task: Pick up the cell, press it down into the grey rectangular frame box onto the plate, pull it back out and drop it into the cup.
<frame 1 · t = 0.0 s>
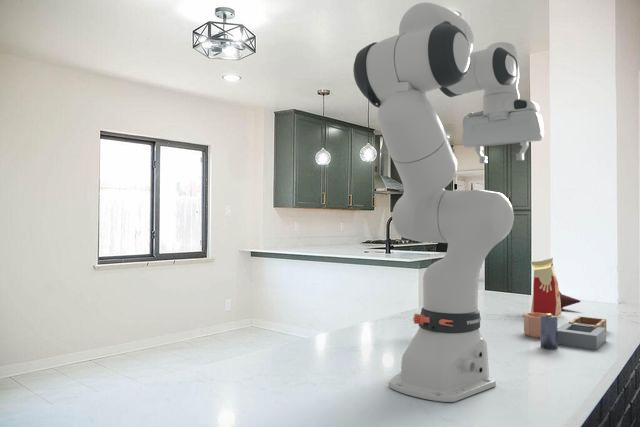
hand: (501, 161, 127), 48 cm above the counter, fingers open, 8 cm apart
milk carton: (544, 316, 169), on the counter
grey rectangular frame box: (580, 342, 132), on the counter
trough: (587, 332, 143), on the counter
icecream: (558, 310, 181), on the counter
cup: (539, 334, 141), on the counter
cell: (549, 347, 127), on the counter
plate: (580, 338, 132), point 1 cm above the counter, slide at 0.7 cm
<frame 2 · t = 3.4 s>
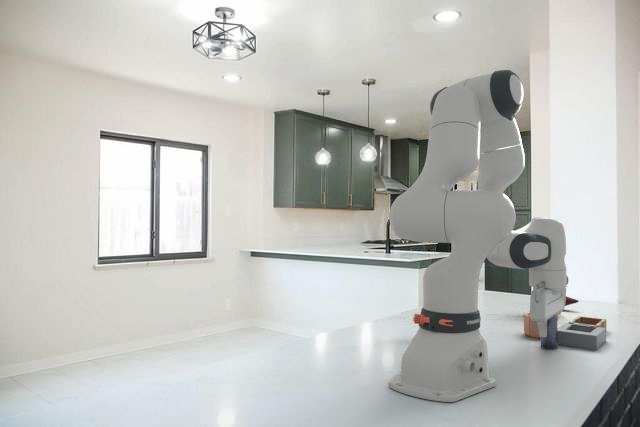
hand: (548, 333, 128), 3 cm above the counter, fingers open, 7 cm apart
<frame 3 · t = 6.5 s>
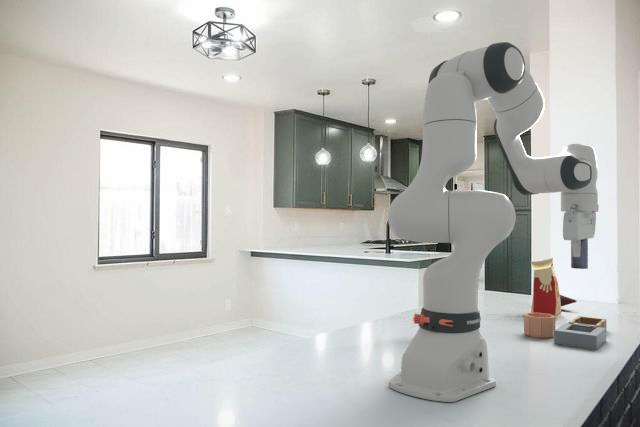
hand: (579, 256, 133), 23 cm above the counter, fingers closed on cell, 4 cm apart
cell: (579, 268, 132), point 20 cm above the counter, touching gripper
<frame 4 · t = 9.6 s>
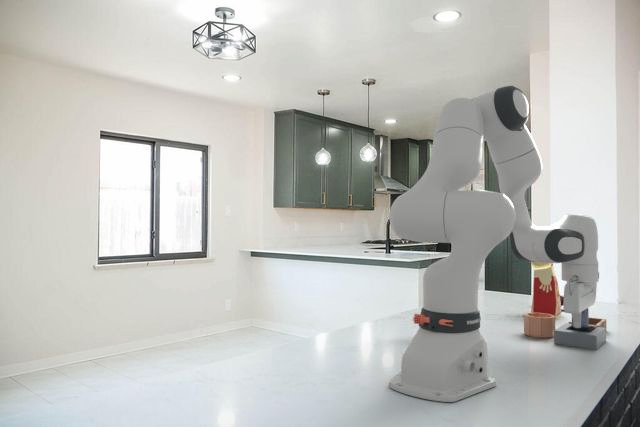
hand: (580, 325, 132), 4 cm above the counter, fingers closed on cell, 4 cm apart
cell: (580, 337, 132), point 1 cm above the counter, touching gripper, plate
plate: (580, 339, 132), point 1 cm above the counter, slide at 0.8 cm, touching cell
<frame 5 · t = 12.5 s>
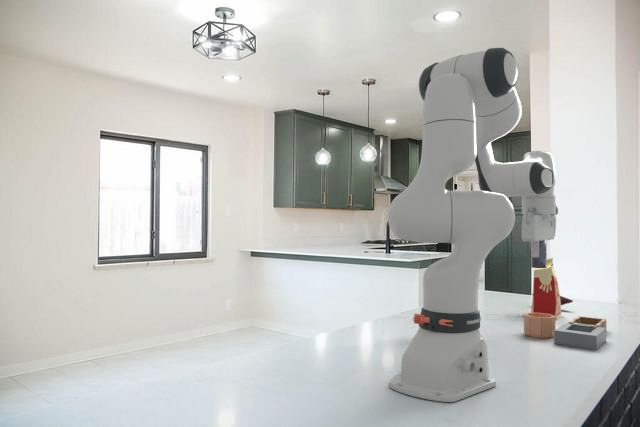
hand: (538, 256, 141), 22 cm above the counter, fingers closed on cell, 4 cm apart
cell: (538, 267, 141), point 19 cm above the counter, touching gripper
plate: (580, 339, 132), point 1 cm above the counter, slide at 0.8 cm
when the fingers open (7 cm above the counter, at t = 15.1 s): cell drops 3 cm, resting on cup.
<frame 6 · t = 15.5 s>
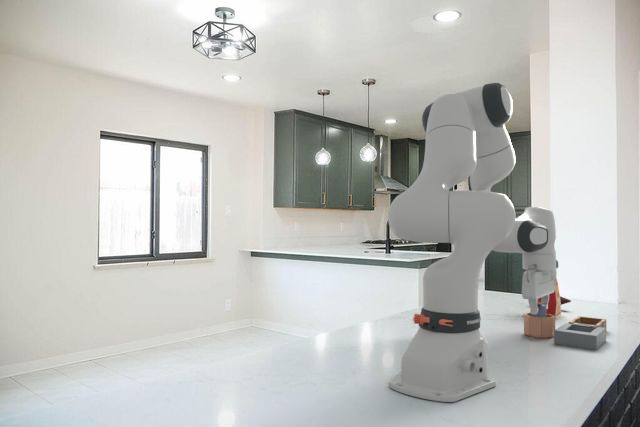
hand: (539, 311, 141), 7 cm above the counter, fingers open, 8 cm apart
cell: (539, 332, 141), point 1 cm above the counter, touching cup
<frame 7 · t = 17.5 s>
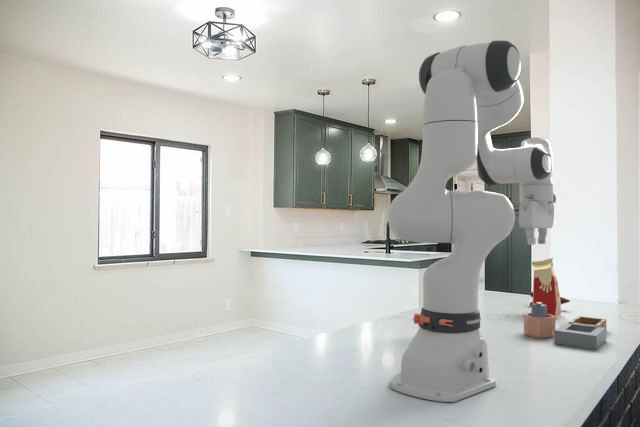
hand: (536, 244, 140), 26 cm above the counter, fingers open, 8 cm apart
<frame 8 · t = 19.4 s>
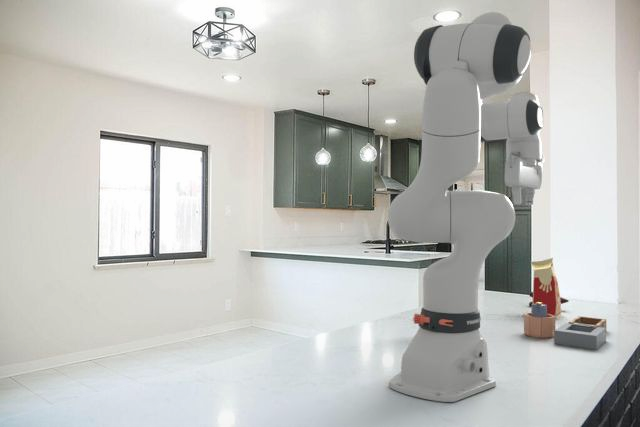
hand: (523, 204, 134), 37 cm above the counter, fingers open, 8 cm apart
at the end: cell 0.1 cm from the cup (horizontally); cell point 0.6 cm above the counter; the gripper is holding nothing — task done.
